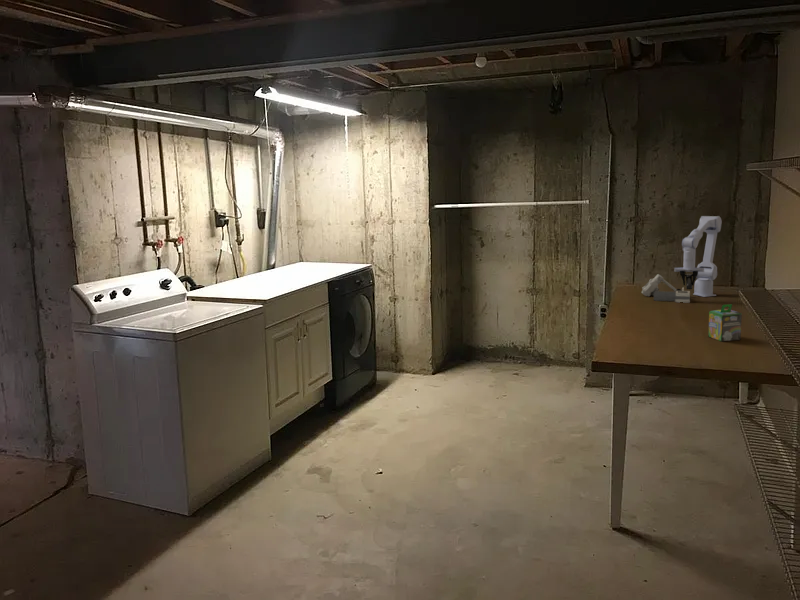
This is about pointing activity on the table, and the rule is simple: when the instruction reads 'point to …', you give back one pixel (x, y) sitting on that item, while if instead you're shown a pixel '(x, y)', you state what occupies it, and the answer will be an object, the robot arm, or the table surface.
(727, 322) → the chalk box
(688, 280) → the round dark gray knob
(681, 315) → the table surface
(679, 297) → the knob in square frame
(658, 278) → the mechanical valve
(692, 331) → the table surface
